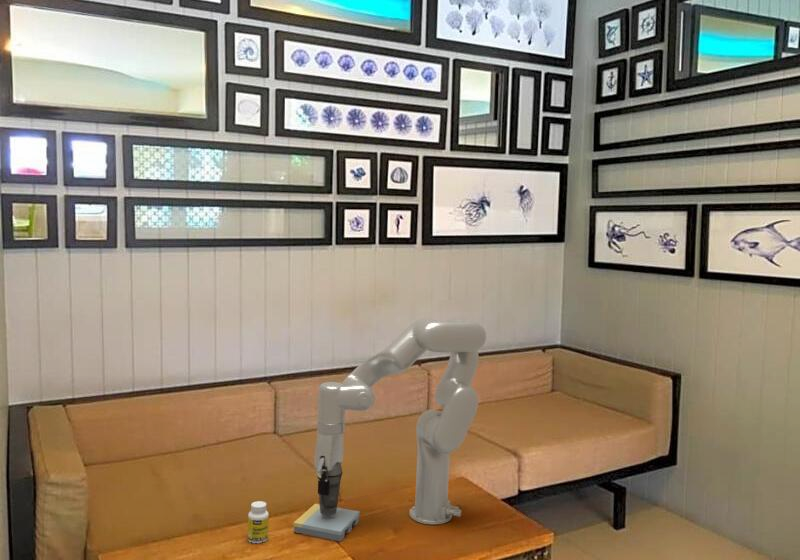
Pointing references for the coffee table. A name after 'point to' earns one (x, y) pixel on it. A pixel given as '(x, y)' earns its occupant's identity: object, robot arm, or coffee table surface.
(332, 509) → the beverage cup
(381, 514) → the coffee table surface
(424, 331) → the robot arm
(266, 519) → the supplement bottle
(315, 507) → the plate
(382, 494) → the coffee table surface
